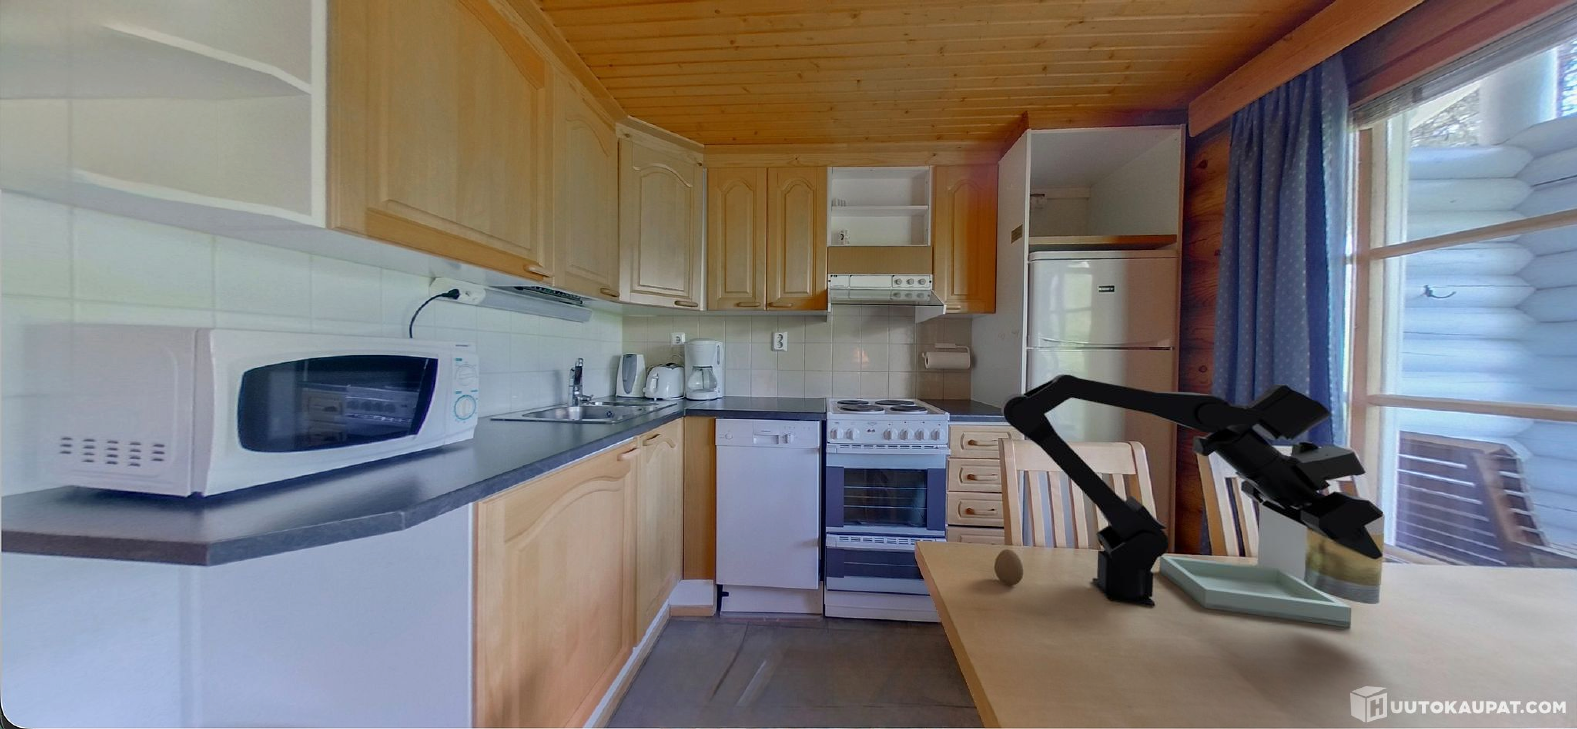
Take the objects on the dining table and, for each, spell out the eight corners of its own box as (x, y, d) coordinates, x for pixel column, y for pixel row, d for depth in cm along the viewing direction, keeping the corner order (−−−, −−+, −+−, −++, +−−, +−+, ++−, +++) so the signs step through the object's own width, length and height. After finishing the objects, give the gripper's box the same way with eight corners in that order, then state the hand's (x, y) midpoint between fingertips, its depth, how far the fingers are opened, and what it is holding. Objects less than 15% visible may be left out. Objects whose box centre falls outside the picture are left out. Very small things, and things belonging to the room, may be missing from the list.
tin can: (1340, 601, 58) (1346, 515, 58) (1289, 576, 65) (1293, 498, 64) (1397, 606, 57) (1403, 518, 57) (1339, 580, 64) (1344, 501, 64)
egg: (994, 587, 72) (995, 552, 72) (993, 575, 77) (994, 542, 76) (1024, 593, 71) (1025, 557, 71) (1021, 580, 75) (1022, 546, 75)
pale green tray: (1205, 607, 68) (1205, 589, 68) (1159, 570, 79) (1160, 555, 79) (1350, 627, 63) (1351, 607, 63) (1279, 585, 75) (1280, 568, 75)
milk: (1307, 587, 75) (1313, 463, 74) (1256, 572, 79) (1261, 456, 79) (1309, 576, 78) (1315, 458, 78) (1260, 563, 83) (1265, 452, 82)
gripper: (1365, 437, 54) (1496, 541, 49) (1270, 418, 71) (1362, 494, 67) (1275, 489, 57) (1392, 590, 53) (1205, 459, 74) (1289, 534, 70)
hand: (1356, 546), depth 60 cm, fingers closed on tin can, 7 cm apart
